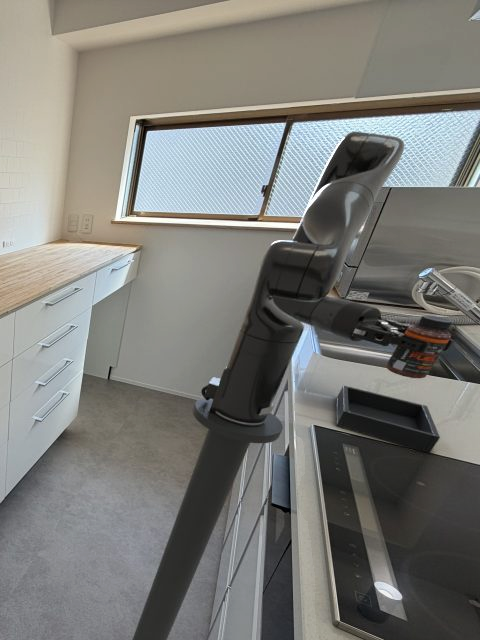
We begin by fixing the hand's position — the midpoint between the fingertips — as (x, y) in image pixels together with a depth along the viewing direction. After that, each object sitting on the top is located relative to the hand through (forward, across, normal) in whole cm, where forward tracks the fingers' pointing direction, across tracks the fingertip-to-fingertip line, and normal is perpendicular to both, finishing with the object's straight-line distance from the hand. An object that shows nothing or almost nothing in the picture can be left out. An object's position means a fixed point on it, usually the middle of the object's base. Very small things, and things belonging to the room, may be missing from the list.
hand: (438, 347), depth 76 cm
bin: (-1, -2, +17) cm, 17 cm away
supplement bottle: (-2, 0, +7) cm, 7 cm away
